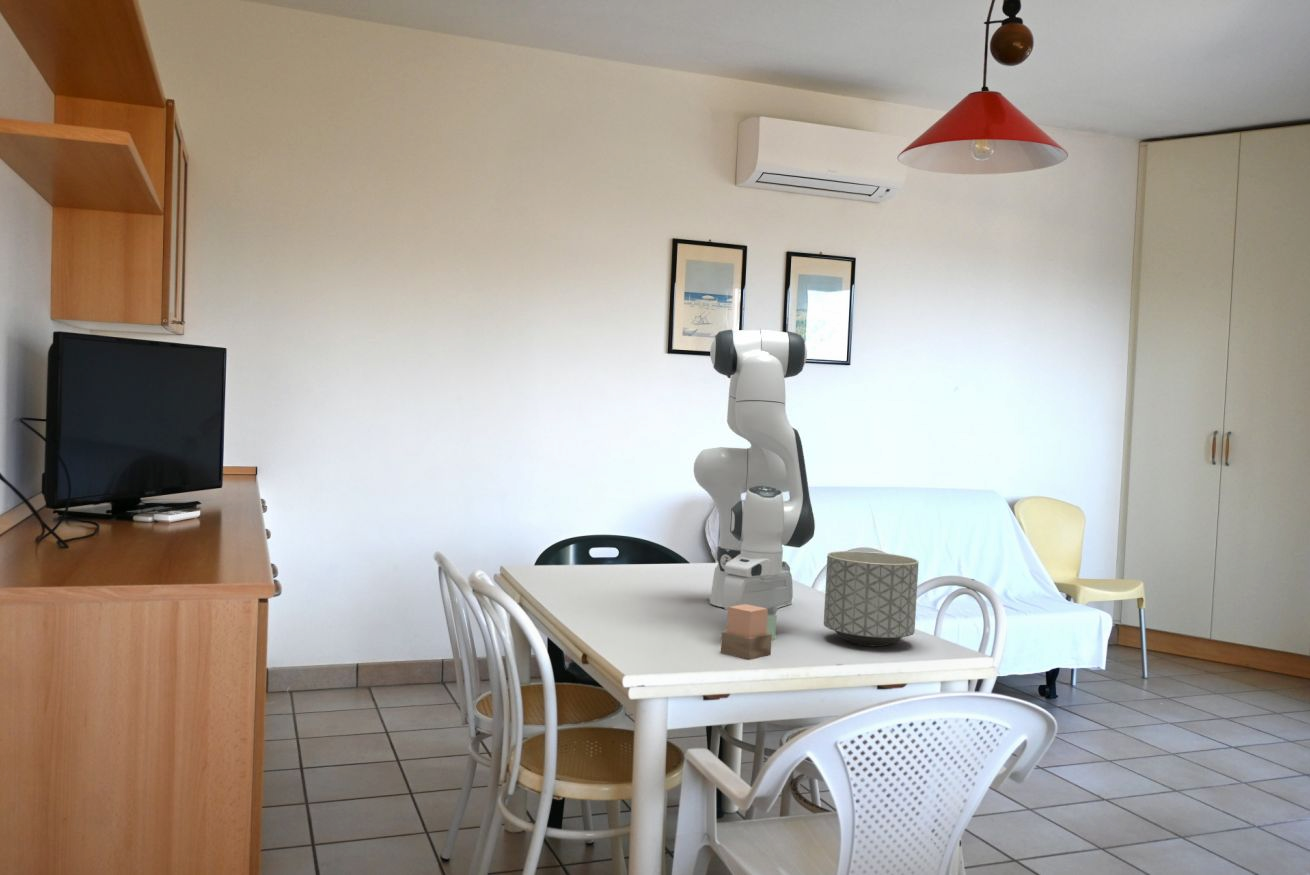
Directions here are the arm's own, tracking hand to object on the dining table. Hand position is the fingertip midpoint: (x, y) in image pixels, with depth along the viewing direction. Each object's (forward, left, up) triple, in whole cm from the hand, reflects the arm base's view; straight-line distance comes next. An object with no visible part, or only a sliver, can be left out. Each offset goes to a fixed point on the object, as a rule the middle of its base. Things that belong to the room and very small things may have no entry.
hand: (757, 629), depth 211 cm
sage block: (0, 0, -2) cm, 2 cm away
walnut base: (+13, +7, -2) cm, 15 cm away
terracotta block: (+13, +7, +2) cm, 15 cm away
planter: (-18, +16, -2) cm, 24 cm away
